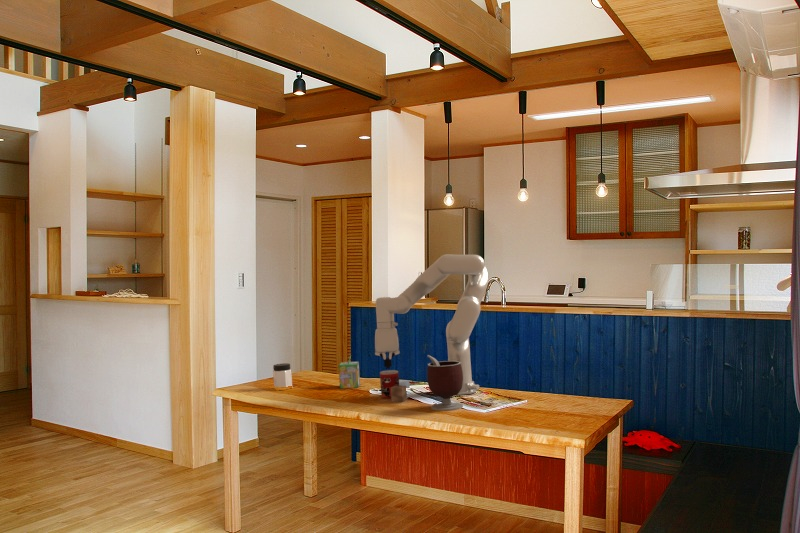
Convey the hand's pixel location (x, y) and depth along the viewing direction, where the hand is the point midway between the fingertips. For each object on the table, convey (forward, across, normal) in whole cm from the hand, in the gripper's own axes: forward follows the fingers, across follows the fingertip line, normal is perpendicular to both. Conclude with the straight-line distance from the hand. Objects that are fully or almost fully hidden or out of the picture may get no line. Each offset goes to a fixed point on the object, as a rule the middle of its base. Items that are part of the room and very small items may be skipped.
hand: (388, 368), depth 289 cm
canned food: (+13, 0, 0) cm, 13 cm away
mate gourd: (+12, -23, +28) cm, 38 cm away
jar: (+13, +54, -38) cm, 67 cm away
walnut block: (+12, -4, +10) cm, 16 cm away
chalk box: (+13, +21, -32) cm, 40 cm away
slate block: (+12, -4, -10) cm, 17 cm away
